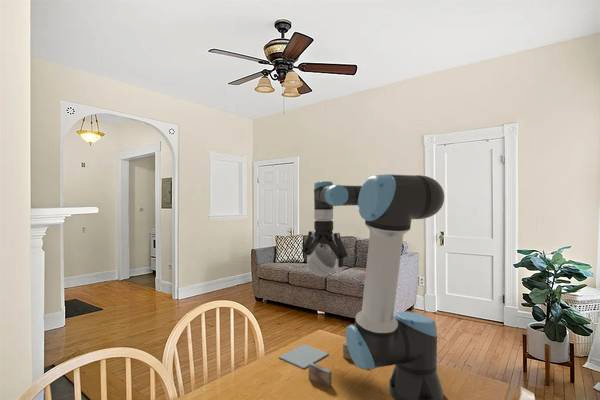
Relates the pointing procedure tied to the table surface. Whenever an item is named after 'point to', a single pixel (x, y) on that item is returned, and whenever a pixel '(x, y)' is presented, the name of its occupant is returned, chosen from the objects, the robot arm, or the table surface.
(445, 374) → the table surface
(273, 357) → the table surface
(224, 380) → the table surface
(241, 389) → the table surface
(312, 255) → the teacup
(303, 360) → the mat
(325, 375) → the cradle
